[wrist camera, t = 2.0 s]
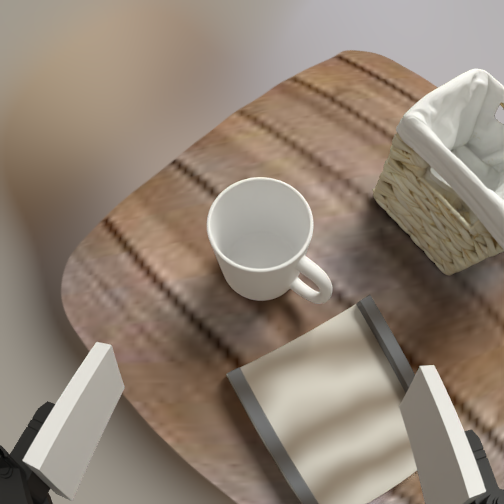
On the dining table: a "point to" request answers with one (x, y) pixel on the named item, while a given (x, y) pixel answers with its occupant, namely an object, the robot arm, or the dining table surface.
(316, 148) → the dining table surface
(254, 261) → the cup
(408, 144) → the storage basket
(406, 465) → the rail board
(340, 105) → the dining table surface
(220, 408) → the dining table surface
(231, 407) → the dining table surface
